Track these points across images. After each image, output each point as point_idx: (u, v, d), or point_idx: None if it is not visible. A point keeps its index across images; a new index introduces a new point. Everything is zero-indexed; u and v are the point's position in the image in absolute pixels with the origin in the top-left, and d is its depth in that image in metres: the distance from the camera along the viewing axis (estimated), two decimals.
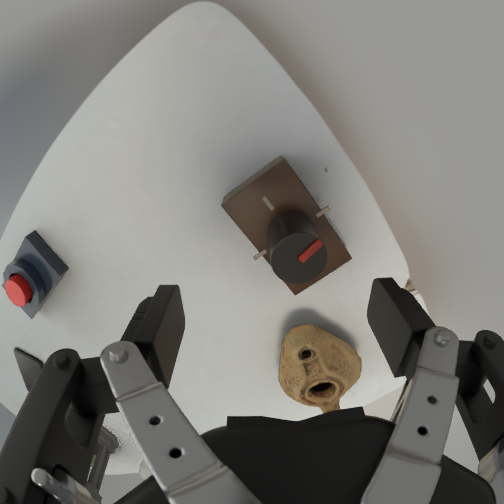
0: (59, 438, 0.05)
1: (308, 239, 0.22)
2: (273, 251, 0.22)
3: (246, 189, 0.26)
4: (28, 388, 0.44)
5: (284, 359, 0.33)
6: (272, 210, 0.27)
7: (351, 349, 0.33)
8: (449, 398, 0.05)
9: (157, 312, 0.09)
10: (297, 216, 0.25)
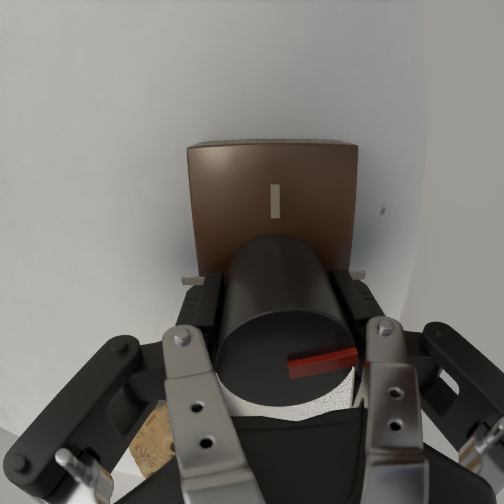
0: (97, 423, 0.06)
1: (337, 340, 0.08)
2: (244, 323, 0.08)
3: (253, 149, 0.11)
4: None
5: (148, 428, 0.18)
6: (273, 219, 0.12)
7: None
8: (412, 387, 0.05)
9: (211, 298, 0.10)
10: (317, 261, 0.11)
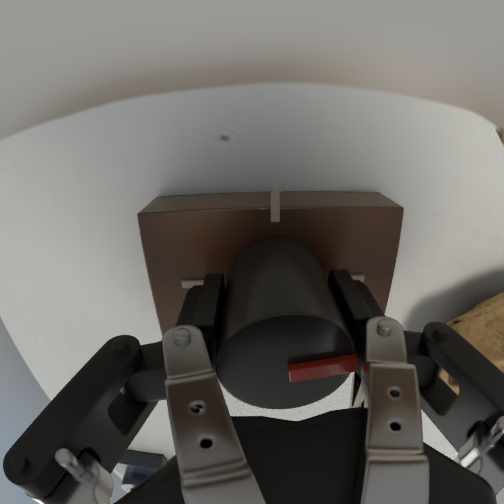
0: (97, 423, 0.06)
1: (338, 346, 0.08)
2: (248, 325, 0.08)
3: (156, 297, 0.14)
4: None
5: None
6: None
7: None
8: (412, 387, 0.05)
9: (210, 298, 0.10)
10: (319, 267, 0.12)
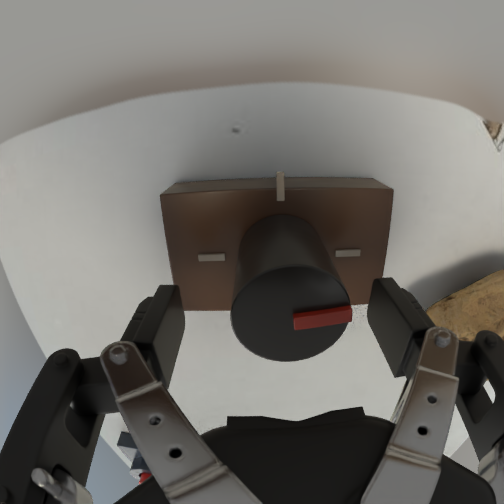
0: (59, 438, 0.05)
1: (335, 297, 0.10)
2: (260, 275, 0.10)
3: (175, 270, 0.16)
4: None
5: None
6: (226, 257, 0.16)
7: None
8: (449, 398, 0.05)
9: (157, 312, 0.09)
10: (319, 239, 0.13)
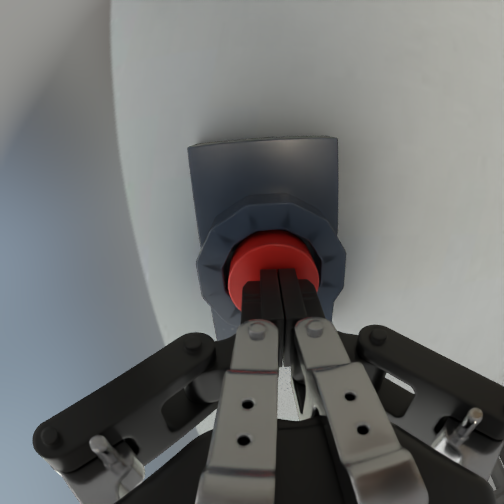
0: (146, 418, 0.06)
1: None
2: None
3: None
4: None
5: None
6: None
7: None
8: (365, 386, 0.06)
9: (273, 293, 0.10)
10: None
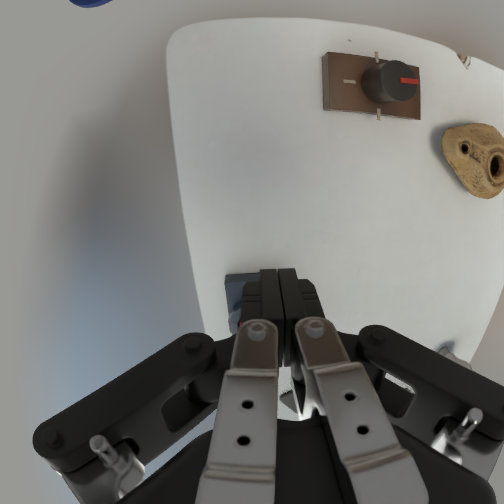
0: (146, 417, 0.06)
1: (411, 75, 0.22)
2: (389, 62, 0.22)
3: (331, 86, 0.28)
4: None
5: (459, 170, 0.31)
6: (355, 82, 0.28)
7: (481, 124, 0.28)
8: (365, 386, 0.06)
9: (273, 293, 0.10)
10: None
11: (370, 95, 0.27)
